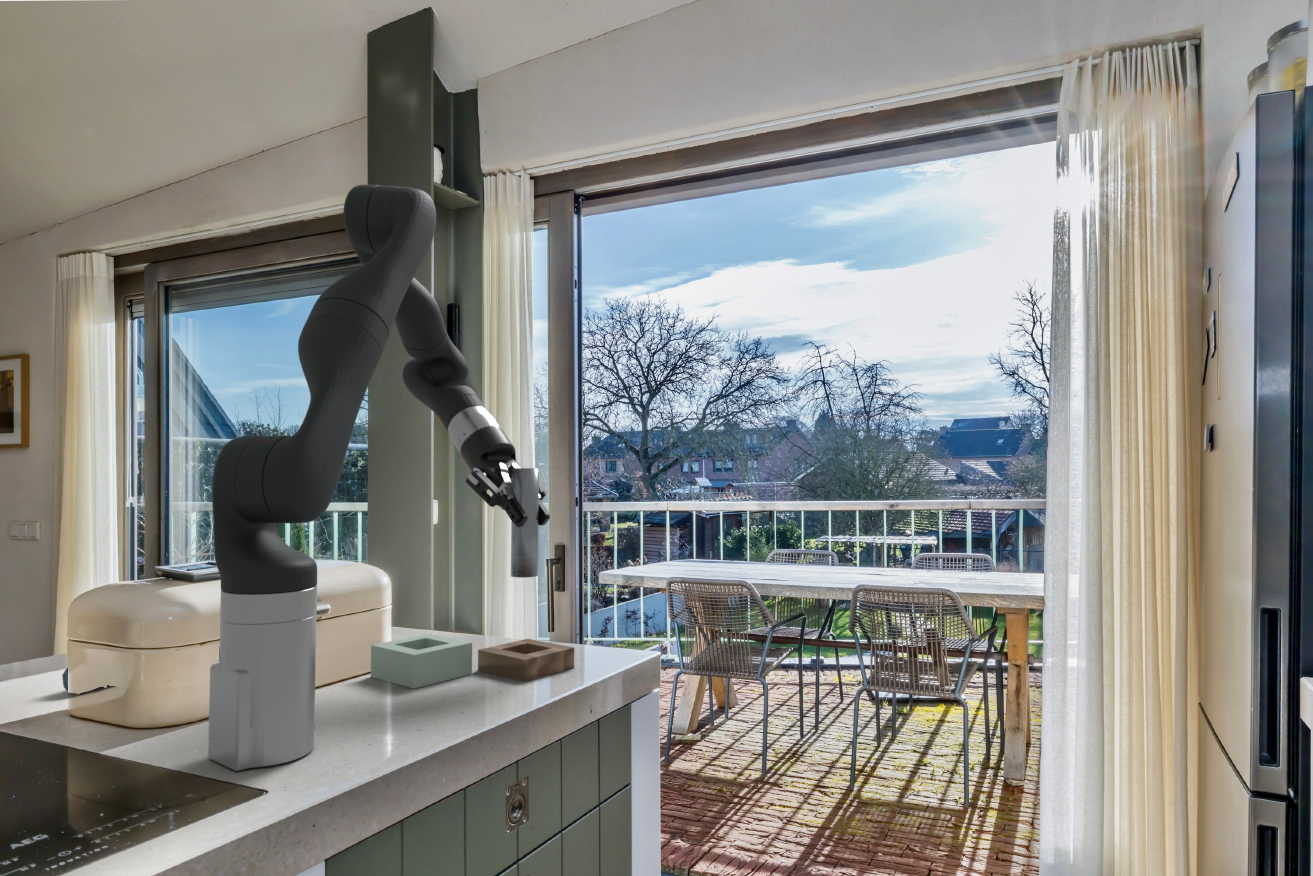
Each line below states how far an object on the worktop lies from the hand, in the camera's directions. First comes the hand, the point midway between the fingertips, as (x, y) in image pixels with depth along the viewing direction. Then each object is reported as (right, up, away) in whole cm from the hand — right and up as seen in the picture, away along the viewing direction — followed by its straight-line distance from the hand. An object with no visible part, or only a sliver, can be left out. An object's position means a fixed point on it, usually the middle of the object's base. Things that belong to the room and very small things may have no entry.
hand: (534, 522), depth 122 cm
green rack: (-16, -22, -3) cm, 27 cm away
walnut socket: (-1, -22, +1) cm, 22 cm away
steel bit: (-2, -8, +1) cm, 8 cm away
